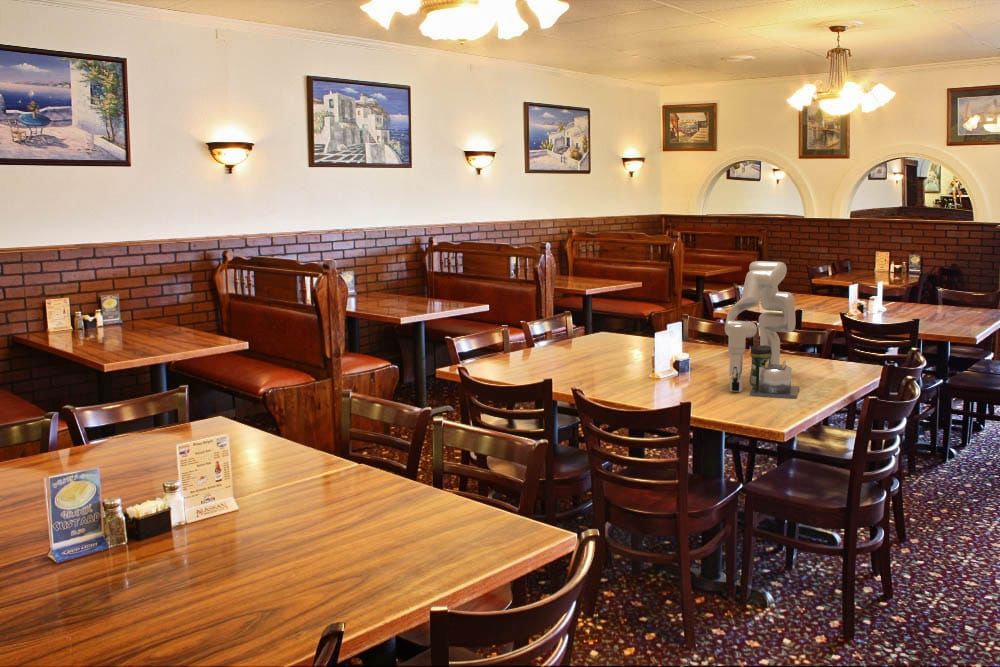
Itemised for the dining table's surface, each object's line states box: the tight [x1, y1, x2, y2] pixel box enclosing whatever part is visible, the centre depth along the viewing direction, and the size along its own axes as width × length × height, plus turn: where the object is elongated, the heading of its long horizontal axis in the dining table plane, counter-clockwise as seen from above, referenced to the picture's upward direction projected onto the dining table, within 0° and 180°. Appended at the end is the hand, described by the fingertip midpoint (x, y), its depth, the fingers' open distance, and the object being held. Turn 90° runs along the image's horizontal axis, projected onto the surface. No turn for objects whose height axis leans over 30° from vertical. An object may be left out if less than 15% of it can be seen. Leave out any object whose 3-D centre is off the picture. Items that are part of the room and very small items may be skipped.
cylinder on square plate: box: [749, 360, 800, 400], centre depth 400 cm, size 20×20×14 cm
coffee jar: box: [749, 345, 772, 386], centre depth 418 cm, size 10×8×19 cm
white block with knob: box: [729, 374, 744, 393], centre depth 405 cm, size 5×5×8 cm
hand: (736, 388), depth 406 cm, fingers closed on white block with knob, 5 cm apart
